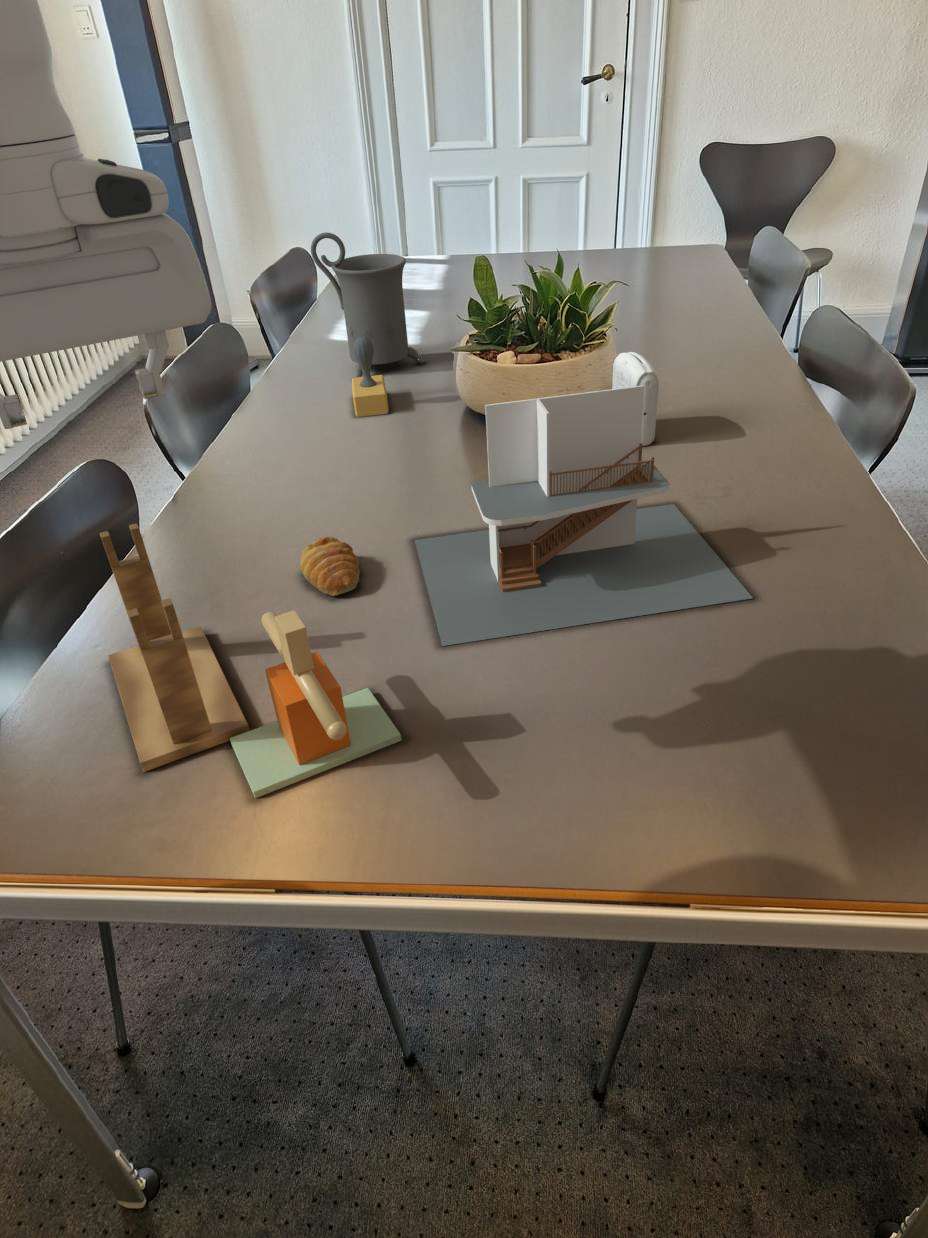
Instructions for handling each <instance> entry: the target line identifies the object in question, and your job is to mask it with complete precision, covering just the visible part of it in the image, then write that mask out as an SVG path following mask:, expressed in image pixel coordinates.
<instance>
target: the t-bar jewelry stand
mask: <svg viewBox="0 0 928 1238" xmlns="http://www.w3.org/2000/svg"><path fill="white" fill-rule="evenodd" d="M261 624H262V626H263V628H264V629H265V631H266V633H267V635H268V636H269V638H270V640H271V641H272V643H273V645H274V646H275V648H276V650H277V652H278V654H279V655H280V656H281V659H282V660H283V662H282V663H278V664H276V665H273V666H270V667H267V668H265V670H264V671H265V675H266V676H265V677H266V680H267V685H268V688H269V692H270V696H271V699H272V704H273V707H274V712H275V715H276V721H278V724H279V728H280V730H281V732H282V733H283V735H284V737H285V739H286V741H287V743H288V745H289V747H290V749H291V751H292V752H293V754H294V756H295V758H296V760H297V762H298V764H299V765H302V764H304V763H307V762H310V761H312V760H315V759H317V758H320V757H322V756H325V755H328V754H330V753H333V752H335V751H338V750H341V749H343V748H346V747H348V746H351V741H350V736H349V731H348V725H347V720H346V714H345V709H344V704H343V698H342V697H343V693H342V688H341V685H340V684H339V682H338V681H337V679H336V677H335V676H334V674H333V673H332V672H331V670H330V669H329V667H328V666H327V664H326V662H325V660H324V659H323V658H322V656H321V654H320V653H319V651H313V652H311V651H312V650H311V647H310V642H309V641H310V640H309V637H308V631H307V627H306V626H305V624H304V622H303V621H302V619H301V618H300V616H299V615H298V613H297V612H296V610H290V611H288V612H287V611H286V612H284V613H282V614H278V615H277V614H276V613H275V612H272V611H267V612H265V613H264V614H262V616H261Z"/></svg>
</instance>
